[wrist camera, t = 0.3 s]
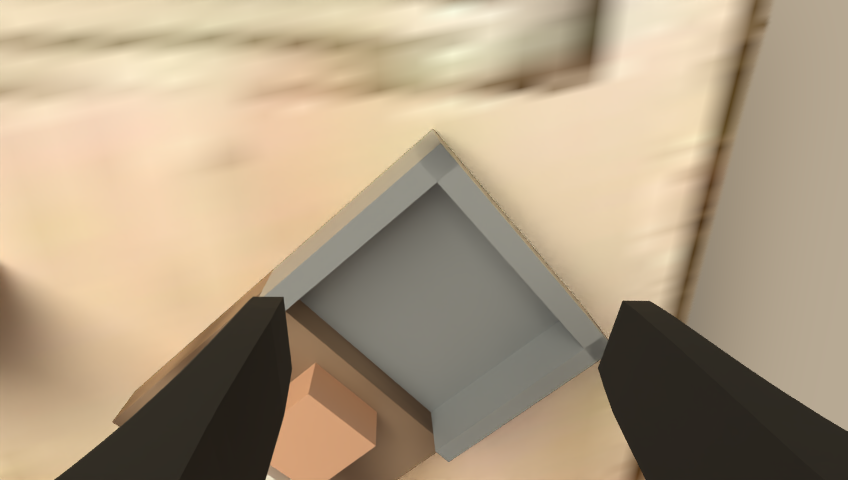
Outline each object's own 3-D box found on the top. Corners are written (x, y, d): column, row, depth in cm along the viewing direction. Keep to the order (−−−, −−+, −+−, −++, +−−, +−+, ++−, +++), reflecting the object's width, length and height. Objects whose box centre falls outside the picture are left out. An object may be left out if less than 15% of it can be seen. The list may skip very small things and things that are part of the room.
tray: (441, 415, 25) (448, 462, 22) (273, 269, 20) (255, 304, 18) (587, 312, 23) (615, 349, 20) (433, 128, 19) (440, 142, 16)
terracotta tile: (317, 456, 22) (310, 492, 21) (254, 411, 21) (241, 445, 19) (376, 412, 22) (375, 445, 20) (315, 362, 20) (308, 393, 18)
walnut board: (311, 507, 27) (306, 541, 25) (134, 391, 23) (112, 422, 21) (441, 415, 25) (446, 445, 23) (273, 269, 20) (261, 291, 19)
